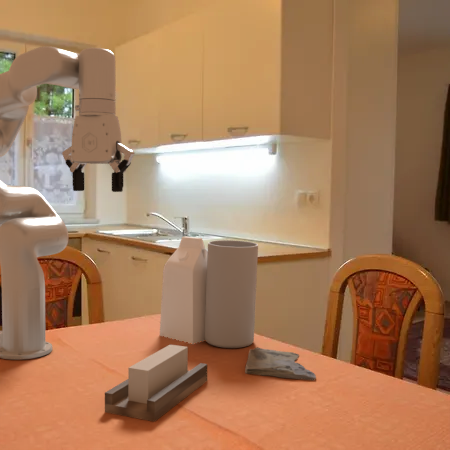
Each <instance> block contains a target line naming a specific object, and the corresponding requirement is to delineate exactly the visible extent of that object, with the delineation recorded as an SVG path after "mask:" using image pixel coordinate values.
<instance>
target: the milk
mask: <svg viewBox="0 0 450 450" xmlns="http://www.w3.org/2000/svg"><path fill="white" fill-rule="evenodd" d="M207 256H208V249H206V247H205V244H204V240H203V238H202V237H195V236H186V235H185V236H182V237H181V239H180V243H179V245H178V247H177V249H175V250H174V252H173V253H172V254H171V256H170V257H169V258H168V259H167V260H166V262H165V264H164V266H163V271H162V284H161V285H162V288H161V305H160V321H159V323H160V324H159V336H160V337H163V336H164V338H167V337H168V338H167V339H171V338H172V339H171V340H174V339H176V340H175V341H178V340H179V341H178V342H182V341H184V342H183V343H186V342H188V343H187V344H190V343H192V344H191V345H195V344H194V343H196V344H198V343H197V342H199V343H201V342H200V341H202V342H205V341H204V340H205V338H204V336H205V309H206V283H207Z"/></svg>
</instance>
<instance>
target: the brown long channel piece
mask: <svg viewBox="0 0 450 450" xmlns="http://www.w3.org/2000/svg"><path fill="white" fill-rule="evenodd" d="M206 382H208V364H207V363H202V362H200V363H199V364H197V365H196V366H194V367H193V368H192V369H189V370H188V372H187V373H186V374H184V375H183V376H181V377H180V378H178V379H177V380H175V381H174V382H173V383H171V384H170V385H168V386H167V387H165V388H164V389H162V390H161V391H160V392H158V393H157V394H155V395H154V396H152V397H151V398H149V399H148V400H147V404H146V403H140V402H134V401H129V400H128V378H127V379H125V380H124V381H122V382H121V383H119V384H117V385H116V386H113V387H112V388H110V389H109V390H107V391H105V392H104V413H106V414H107V413H108V414H114V415H117V416H118V415H119V416H123V417H128V418H129V417H130V418H134V419H140V420H146V421H150V422H156V421H157V420H159V419H160V418H161V417H162V416H164V415H165V414H166V413H167V412H169V411H170V410H172V409H173V408H174V407H175V406H177V405H178V404H179V403H181V402H183V400H184V399H185V398H187V397H188V396H190V395H191V394H192V393H193V392H195V391H196V390H198V389H199V388H200V387H201V386H203V385H204V384H205V383H206Z"/></svg>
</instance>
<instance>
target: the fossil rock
mask: <svg viewBox="0 0 450 450" xmlns="http://www.w3.org/2000/svg"><path fill="white" fill-rule="evenodd" d="M247 355H248V356H247V361H246V364H245V370H244V373H245V374H249V375H255V376H256V375H257V376H270V377H275V378H276V377H277V378H282V379H291V380H293V379H294V380H305V381H307V380H308V381H316V378H317V376H316V374H315V372H313V371H311V370H309V369H306V367H304V366H303V364H301V363H299V362H295V361H297V360H298V359H299V357H300V354H299V353H295V352H290V351H281V350H274V349H266V348H261V347H255V348H253V349H252V348H250V349H249V351H248V354H247Z"/></svg>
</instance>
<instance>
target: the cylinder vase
mask: <svg viewBox="0 0 450 450" xmlns="http://www.w3.org/2000/svg"><path fill="white" fill-rule="evenodd" d="M207 252H208V256H207V283H206V309H205V336H204V338H205V340H206V341H205V342H207V344H208V345H211V346H214V347H217V348H218V347H219V348H224V349H239V348H245V347H248V346H250V345H252V344H253V342H254V339H255V326H256V325H255V323H256V322H255V321H256V320H255V319H256V300H257V298H256V297H257V279H258V277H257V275H258V258H259V257H258V256H259V255H258V254H259V244H258V243H257V242H253V241H248V240H247V241H245V240H244V241H243V240H233V239H230V240H227V239H226V240H224V239H223V240H218V239H217V240H211V241H208V242H207Z"/></svg>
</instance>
